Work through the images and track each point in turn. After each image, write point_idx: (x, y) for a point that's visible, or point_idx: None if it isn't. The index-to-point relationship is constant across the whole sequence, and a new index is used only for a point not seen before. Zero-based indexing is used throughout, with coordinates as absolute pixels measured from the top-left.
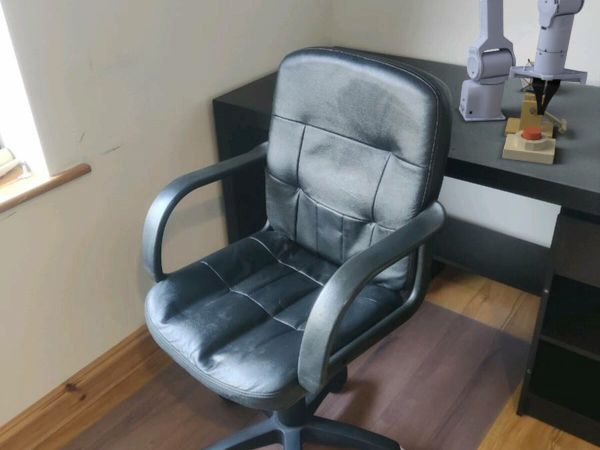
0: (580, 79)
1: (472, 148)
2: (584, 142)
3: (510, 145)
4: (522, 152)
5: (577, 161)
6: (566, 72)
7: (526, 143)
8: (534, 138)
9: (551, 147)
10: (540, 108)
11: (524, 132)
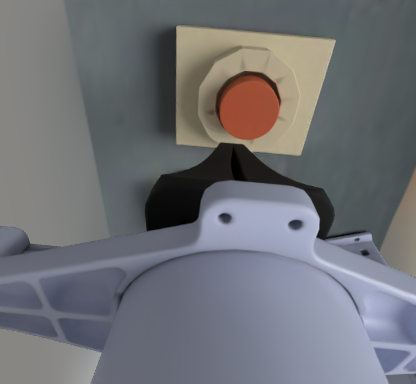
0: (3, 251)
1: (399, 92)
2: (118, 176)
3: (307, 74)
4: (273, 34)
5: (118, 66)
6: (98, 311)
7: (267, 50)
8: (241, 78)
9: (185, 85)
10: (238, 149)
11: (276, 96)
